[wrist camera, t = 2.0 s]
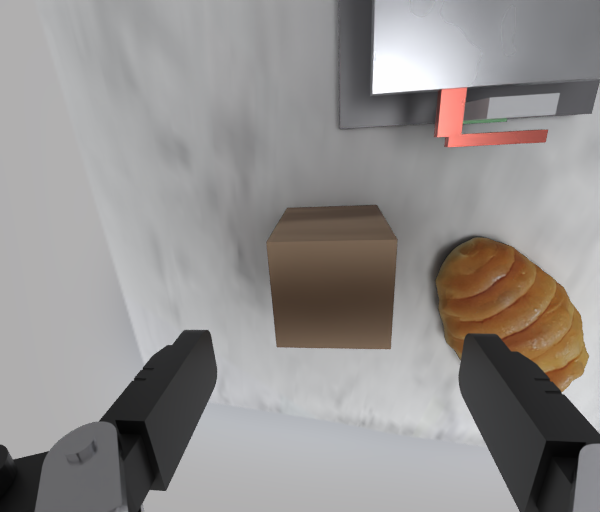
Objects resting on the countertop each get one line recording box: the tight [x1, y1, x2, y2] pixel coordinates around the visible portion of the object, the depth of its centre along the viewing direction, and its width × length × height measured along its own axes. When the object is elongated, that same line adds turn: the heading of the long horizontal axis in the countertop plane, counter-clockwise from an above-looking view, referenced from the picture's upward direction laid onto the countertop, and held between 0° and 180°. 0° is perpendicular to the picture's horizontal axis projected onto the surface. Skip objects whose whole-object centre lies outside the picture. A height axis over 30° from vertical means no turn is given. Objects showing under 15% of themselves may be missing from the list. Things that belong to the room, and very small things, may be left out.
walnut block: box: [266, 205, 397, 349], centre depth 16 cm, size 5×5×6 cm
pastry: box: [435, 237, 589, 392], centre depth 17 cm, size 9×7×4 cm
